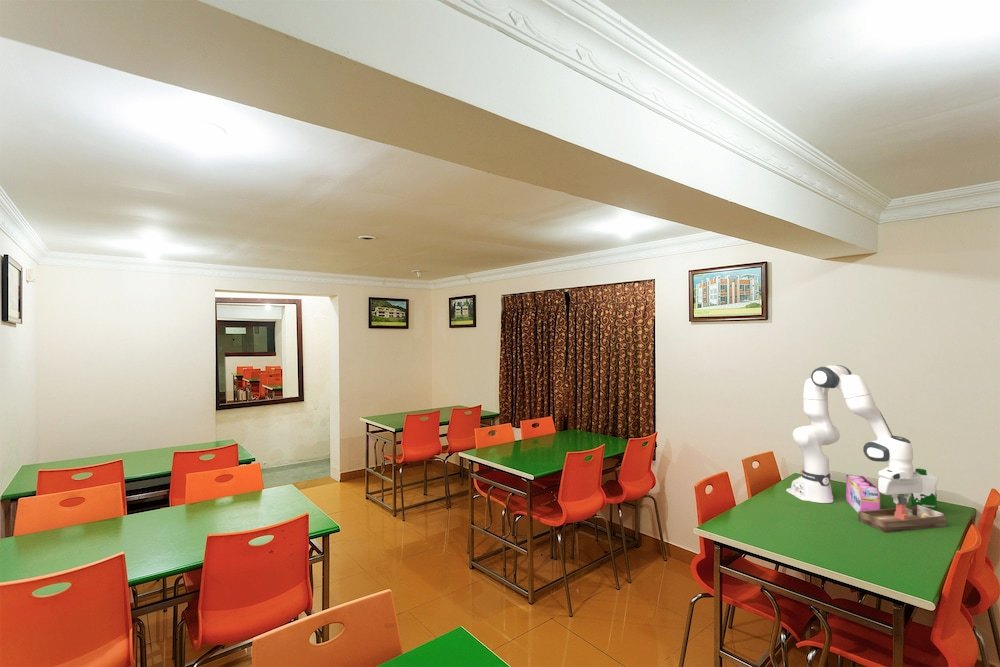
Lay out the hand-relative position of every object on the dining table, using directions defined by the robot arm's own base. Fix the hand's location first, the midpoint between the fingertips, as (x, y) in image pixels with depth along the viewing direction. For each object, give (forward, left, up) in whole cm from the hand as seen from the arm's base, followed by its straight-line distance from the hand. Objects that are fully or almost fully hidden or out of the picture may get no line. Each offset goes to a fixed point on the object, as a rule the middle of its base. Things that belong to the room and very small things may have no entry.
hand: (900, 502), depth 217 cm
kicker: (0, 0, -7) cm, 7 cm away
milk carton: (-9, +24, -10) cm, 28 cm away
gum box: (-19, 0, -10) cm, 21 cm away
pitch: (0, 0, -10) cm, 10 cm away
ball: (0, +13, -8) cm, 15 cm away
